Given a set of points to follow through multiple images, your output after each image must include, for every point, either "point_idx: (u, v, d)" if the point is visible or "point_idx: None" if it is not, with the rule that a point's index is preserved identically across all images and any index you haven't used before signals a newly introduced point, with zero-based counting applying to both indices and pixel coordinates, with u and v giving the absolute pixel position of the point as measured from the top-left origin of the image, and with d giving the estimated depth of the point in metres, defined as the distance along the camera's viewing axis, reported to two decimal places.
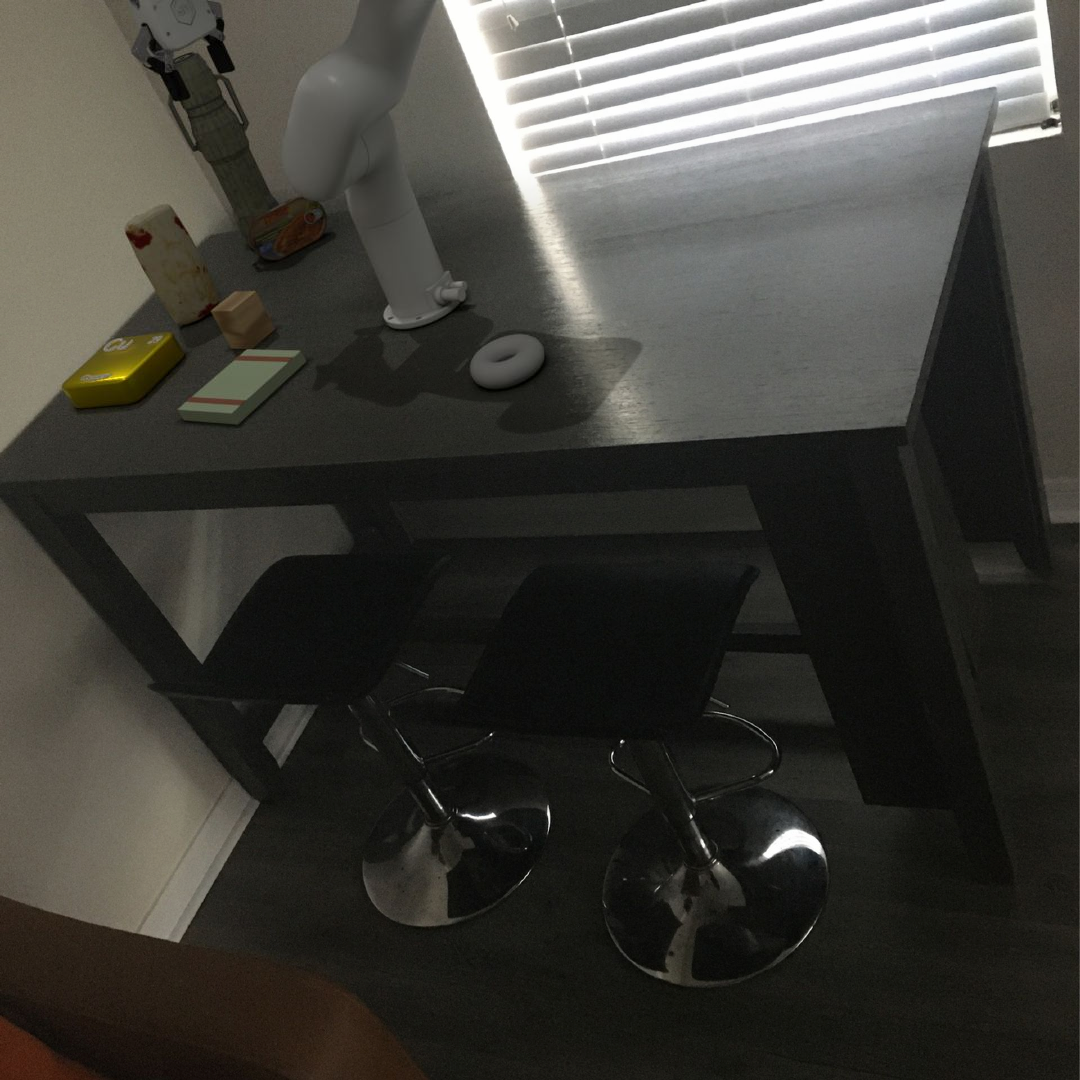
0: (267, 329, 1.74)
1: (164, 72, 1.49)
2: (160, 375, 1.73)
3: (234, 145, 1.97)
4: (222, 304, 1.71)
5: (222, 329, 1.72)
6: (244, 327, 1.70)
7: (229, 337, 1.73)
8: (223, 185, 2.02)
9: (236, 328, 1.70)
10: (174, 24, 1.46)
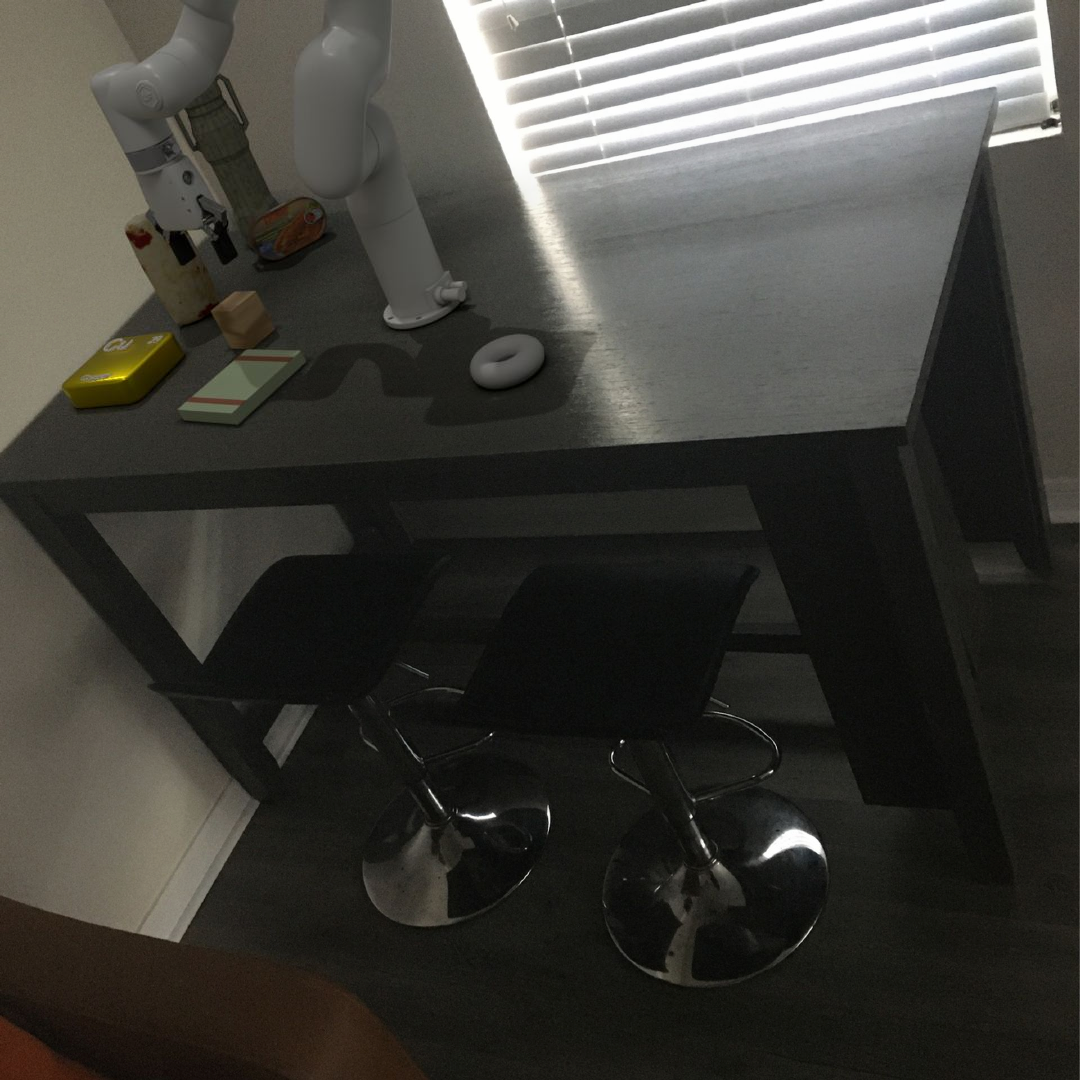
0: (267, 329, 1.74)
1: (225, 233, 1.61)
2: (160, 375, 1.73)
3: (234, 145, 1.97)
4: (222, 304, 1.71)
5: (222, 329, 1.72)
6: (244, 327, 1.70)
7: (229, 337, 1.73)
8: (223, 185, 2.02)
9: (236, 328, 1.70)
10: None
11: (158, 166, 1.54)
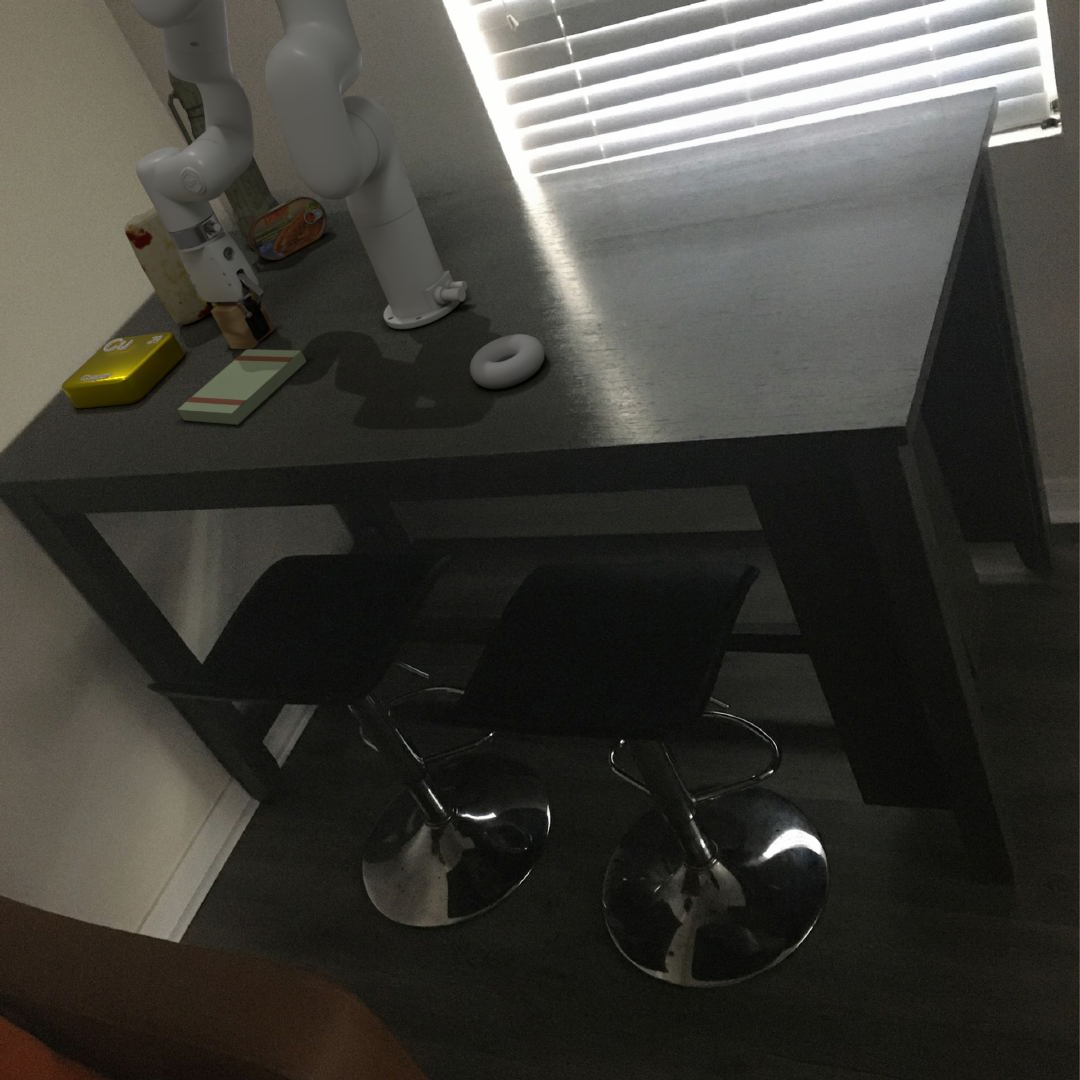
0: None
1: (258, 310, 1.70)
2: (160, 375, 1.73)
3: None
4: (222, 304, 1.71)
5: (222, 329, 1.72)
6: (244, 327, 1.70)
7: (229, 337, 1.73)
8: None
9: (236, 328, 1.70)
10: None
11: (200, 244, 1.61)
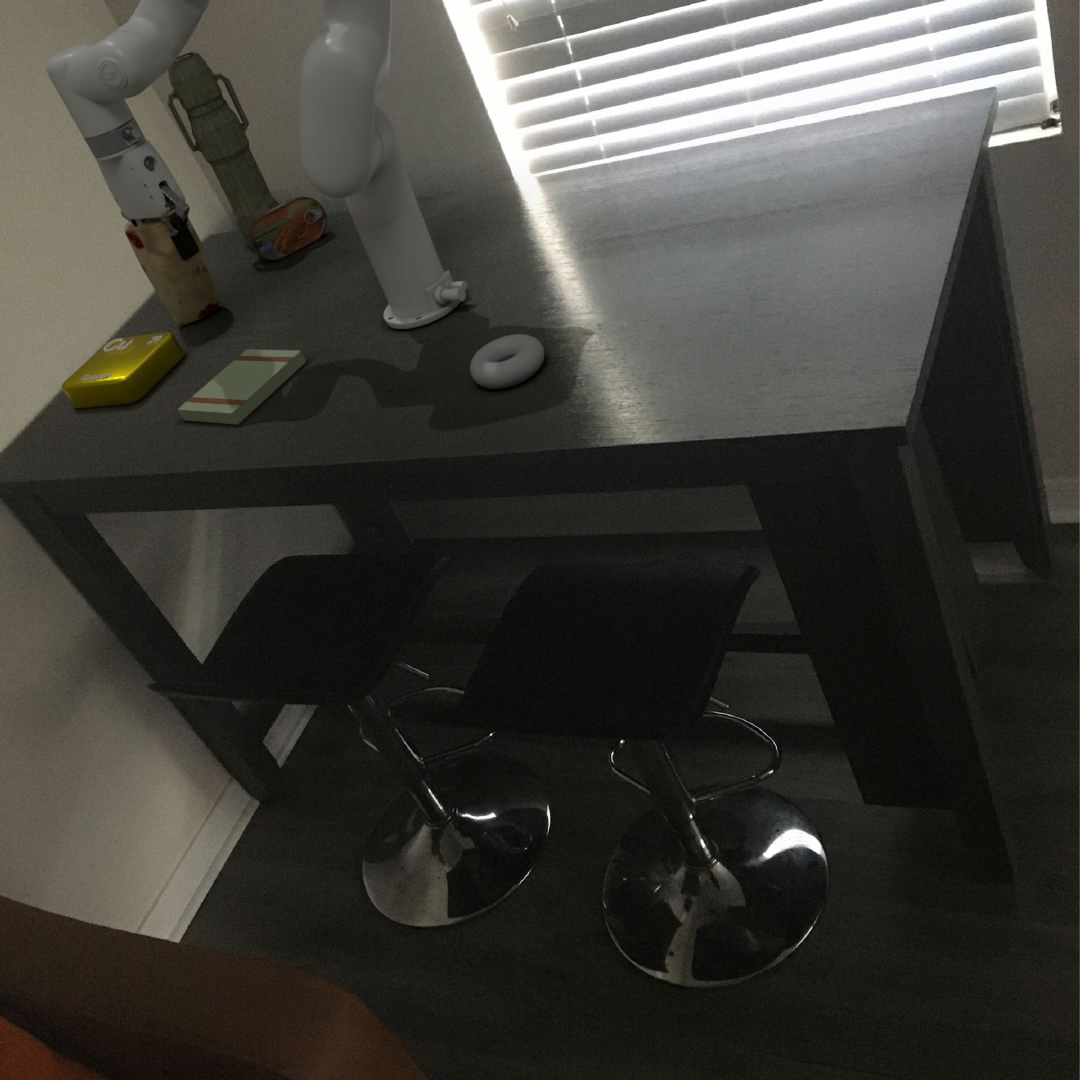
0: None
1: (185, 228, 1.58)
2: (160, 375, 1.73)
3: (234, 145, 1.97)
4: (147, 221, 1.59)
5: (147, 249, 1.60)
6: (169, 246, 1.58)
7: (154, 258, 1.61)
8: (223, 185, 2.02)
9: (161, 247, 1.58)
10: None
11: (118, 151, 1.49)
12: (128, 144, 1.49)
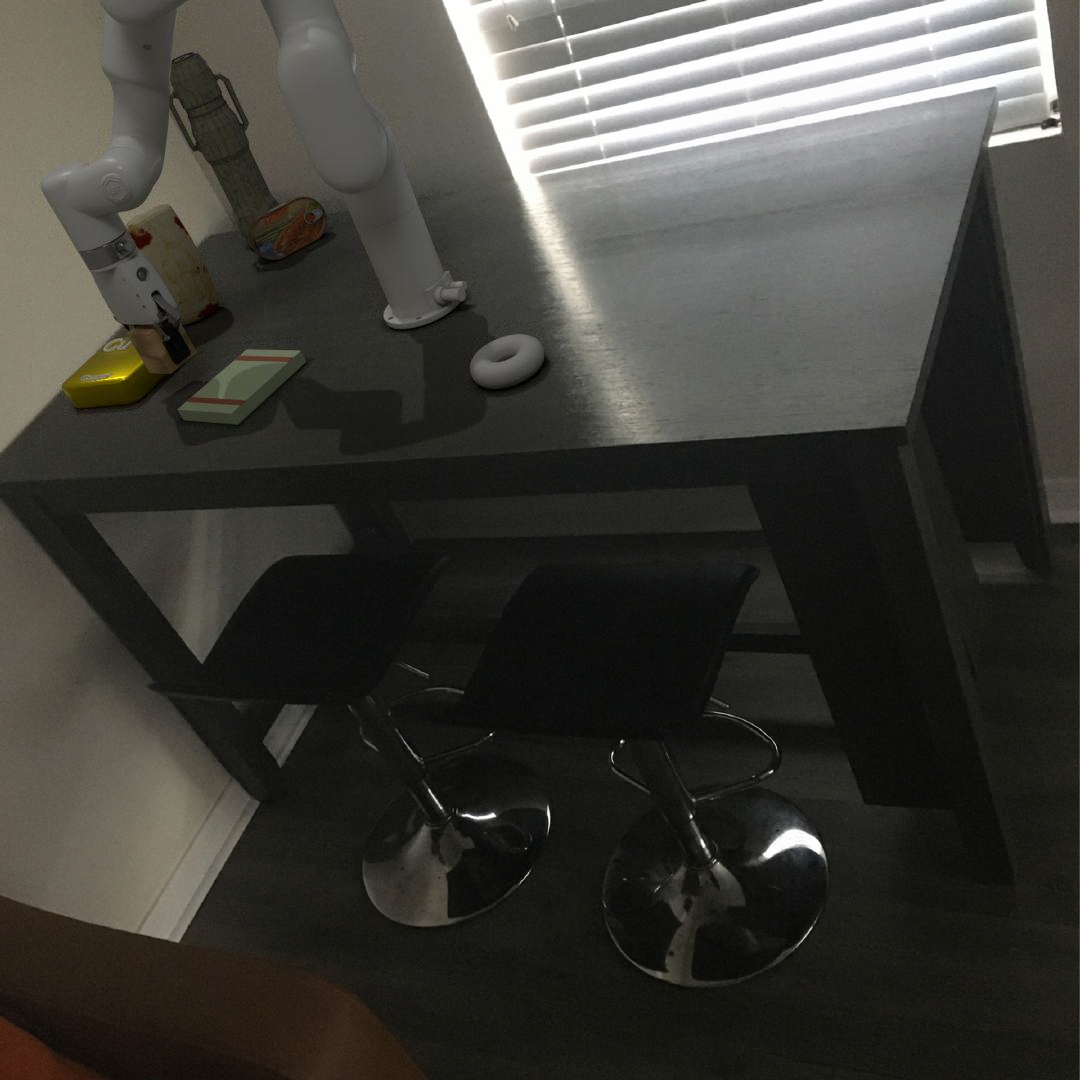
0: None
1: (176, 333, 1.61)
2: (160, 375, 1.73)
3: (234, 145, 1.97)
4: (139, 326, 1.62)
5: (139, 353, 1.63)
6: (161, 351, 1.61)
7: (146, 361, 1.63)
8: (223, 185, 2.02)
9: (153, 352, 1.61)
10: None
11: (111, 264, 1.52)
12: (121, 257, 1.52)
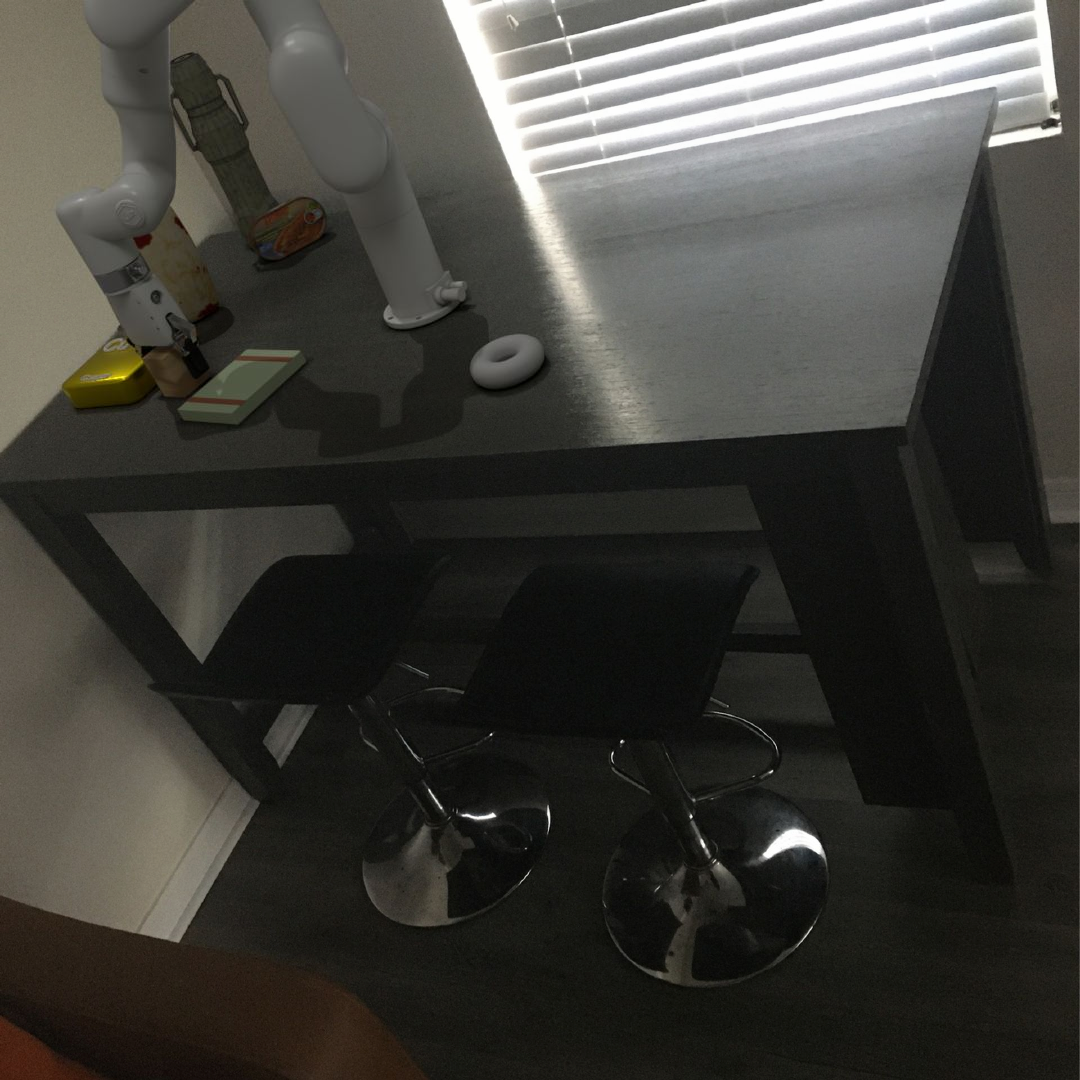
0: (202, 376, 1.67)
1: (195, 348, 1.61)
2: None
3: (234, 145, 1.97)
4: (154, 351, 1.64)
5: (154, 377, 1.65)
6: (176, 375, 1.63)
7: (161, 385, 1.66)
8: (223, 185, 2.02)
9: (167, 376, 1.63)
10: None
11: (126, 288, 1.54)
12: (135, 280, 1.54)
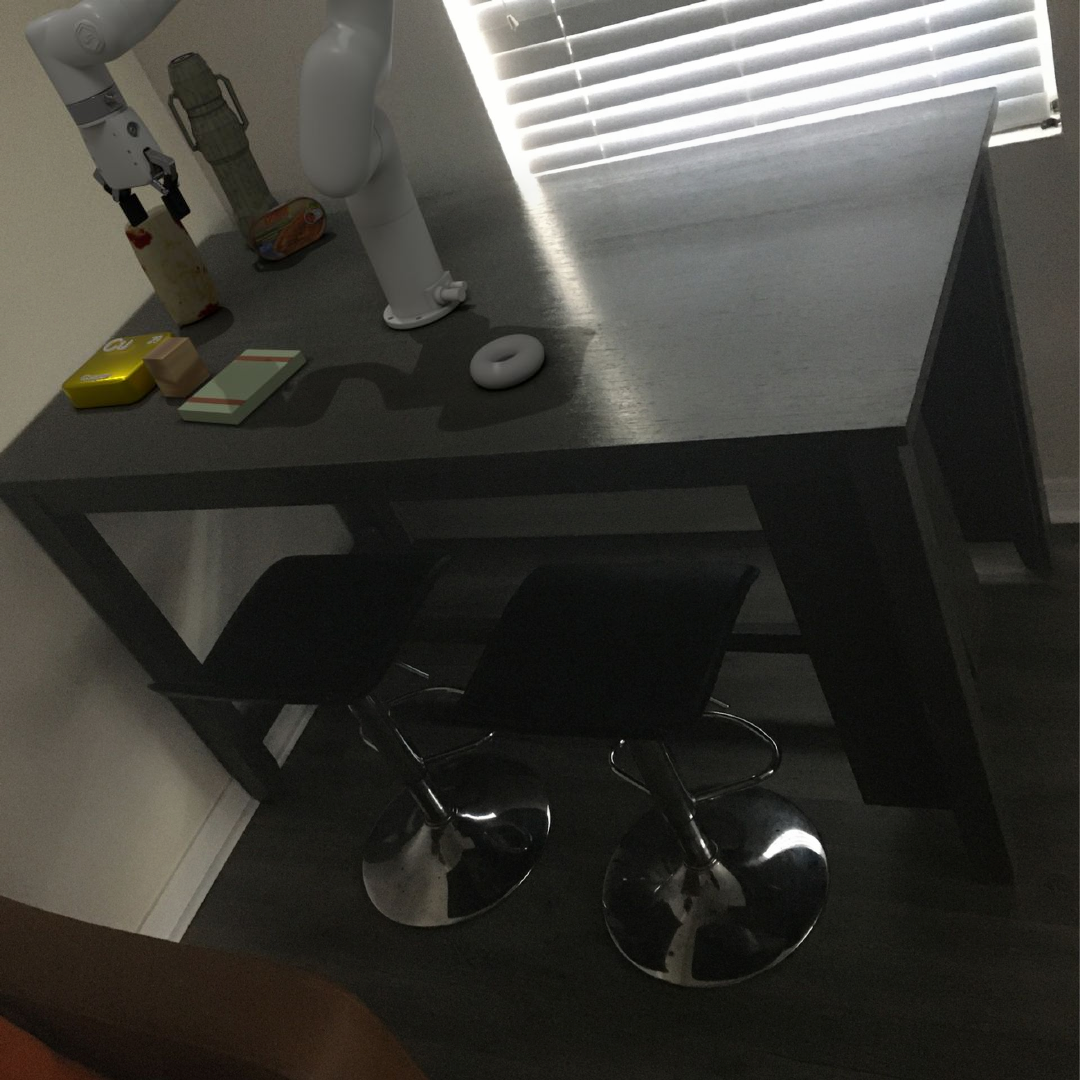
0: (202, 376, 1.67)
1: (175, 187, 1.54)
2: None
3: (234, 145, 1.97)
4: (154, 351, 1.64)
5: (154, 377, 1.65)
6: (176, 375, 1.63)
7: (161, 385, 1.66)
8: (223, 185, 2.02)
9: (167, 376, 1.63)
10: None
11: (101, 117, 1.47)
12: (110, 110, 1.47)
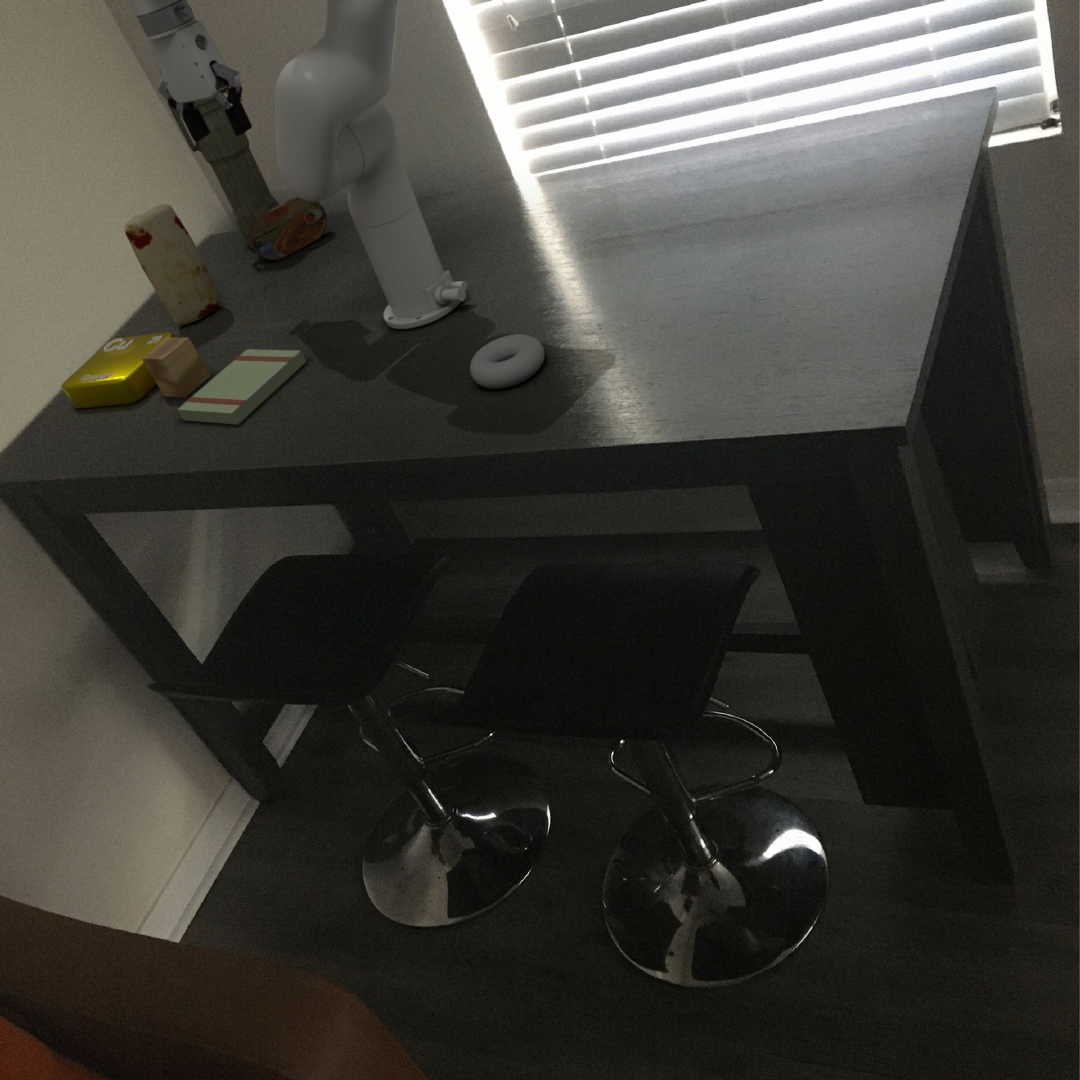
0: (202, 376, 1.67)
1: (238, 101, 1.60)
2: None
3: (234, 145, 1.97)
4: (154, 351, 1.64)
5: (154, 377, 1.65)
6: (176, 375, 1.63)
7: (161, 385, 1.66)
8: (223, 185, 2.02)
9: (167, 376, 1.63)
10: None
11: (171, 29, 1.53)
12: (180, 22, 1.53)
